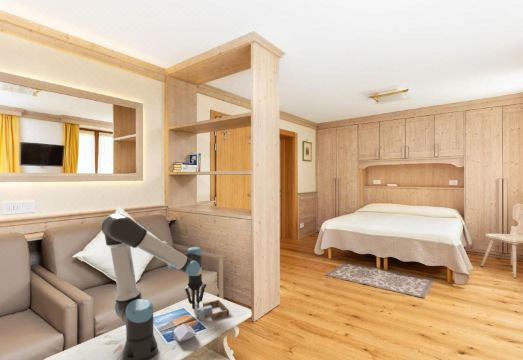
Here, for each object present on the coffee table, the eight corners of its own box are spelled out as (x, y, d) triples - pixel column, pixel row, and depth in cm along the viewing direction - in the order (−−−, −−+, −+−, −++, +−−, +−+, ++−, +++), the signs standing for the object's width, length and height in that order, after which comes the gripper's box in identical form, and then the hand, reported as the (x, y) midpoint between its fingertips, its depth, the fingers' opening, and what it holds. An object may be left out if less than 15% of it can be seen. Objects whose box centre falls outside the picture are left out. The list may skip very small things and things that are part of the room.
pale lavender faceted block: (197, 341, 143) (188, 329, 154) (197, 328, 143) (188, 317, 154) (179, 347, 138) (171, 334, 149) (179, 333, 138) (171, 322, 149)
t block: (199, 320, 163) (199, 313, 163) (194, 313, 172) (194, 306, 172) (214, 316, 168) (214, 309, 168) (208, 309, 176) (208, 302, 176)
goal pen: (212, 319, 164) (212, 314, 163) (202, 308, 178) (202, 303, 178) (228, 315, 169) (228, 310, 169) (218, 304, 183) (218, 299, 183)
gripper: (185, 278, 160) (186, 319, 161) (207, 273, 167) (208, 313, 167) (182, 274, 166) (182, 314, 167) (203, 270, 173) (204, 308, 174)
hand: (195, 313), depth 167 cm, fingers closed
